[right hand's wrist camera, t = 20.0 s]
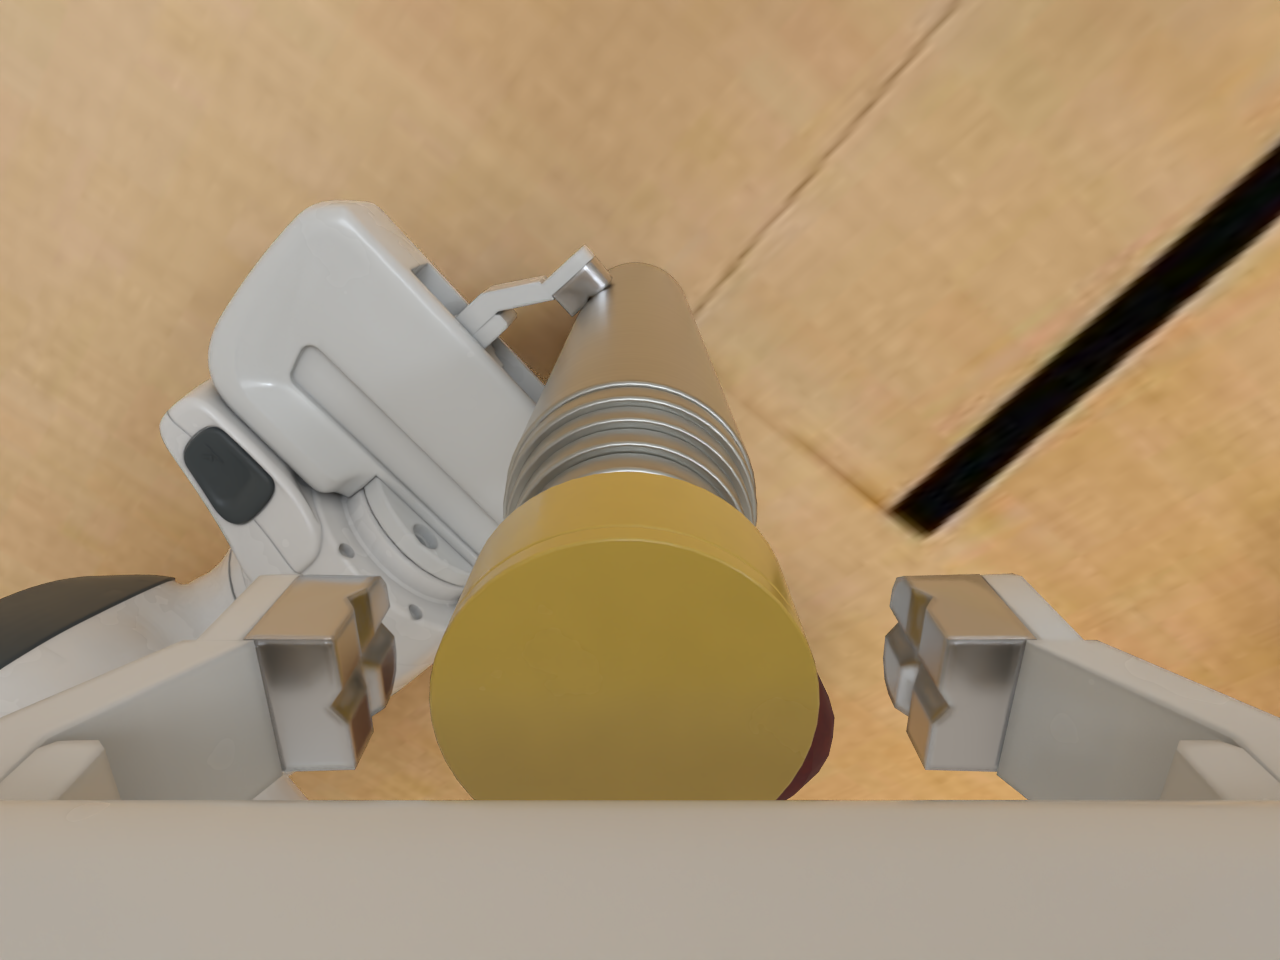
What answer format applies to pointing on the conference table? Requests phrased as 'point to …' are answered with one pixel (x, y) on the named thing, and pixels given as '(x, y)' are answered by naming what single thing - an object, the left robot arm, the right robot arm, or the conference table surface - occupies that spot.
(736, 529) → the cap
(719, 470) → the bottle
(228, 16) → the conference table surface
